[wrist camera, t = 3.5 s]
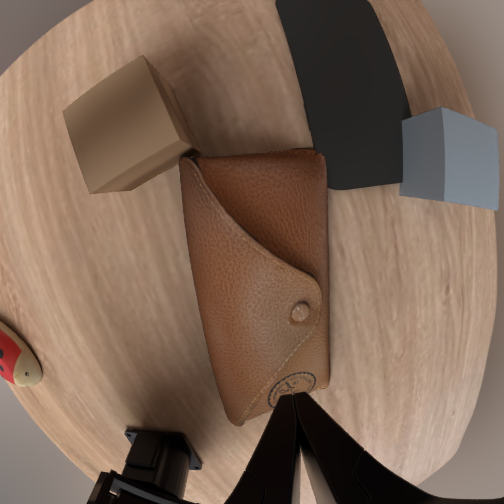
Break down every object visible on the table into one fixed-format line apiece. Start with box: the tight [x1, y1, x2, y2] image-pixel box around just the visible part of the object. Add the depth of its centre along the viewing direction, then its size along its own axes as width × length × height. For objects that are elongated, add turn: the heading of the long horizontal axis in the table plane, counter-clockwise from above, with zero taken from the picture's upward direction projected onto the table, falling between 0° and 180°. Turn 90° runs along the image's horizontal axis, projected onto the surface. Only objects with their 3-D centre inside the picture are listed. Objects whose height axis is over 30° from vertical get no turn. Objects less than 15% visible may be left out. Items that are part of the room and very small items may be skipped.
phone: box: [276, 0, 412, 190], centre depth 14 cm, size 7×1×15 cm
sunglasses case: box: [179, 148, 330, 426], centre depth 16 cm, size 18×7×7 cm
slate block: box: [399, 107, 499, 211], centre depth 13 cm, size 5×5×5 cm
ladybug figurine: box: [0, 321, 42, 387], centre depth 18 cm, size 7×10×4 cm
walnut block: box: [62, 55, 201, 194], centre depth 13 cm, size 5×5×5 cm
